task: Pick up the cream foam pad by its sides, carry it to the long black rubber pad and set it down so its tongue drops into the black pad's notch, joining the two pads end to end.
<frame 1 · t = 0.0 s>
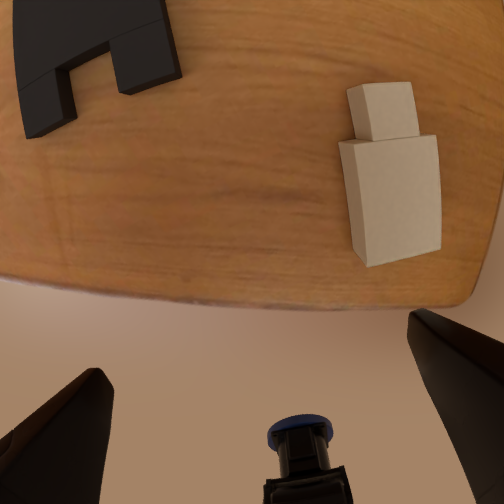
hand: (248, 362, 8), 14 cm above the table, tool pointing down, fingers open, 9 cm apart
foam pad: (384, 190, 20), on the table
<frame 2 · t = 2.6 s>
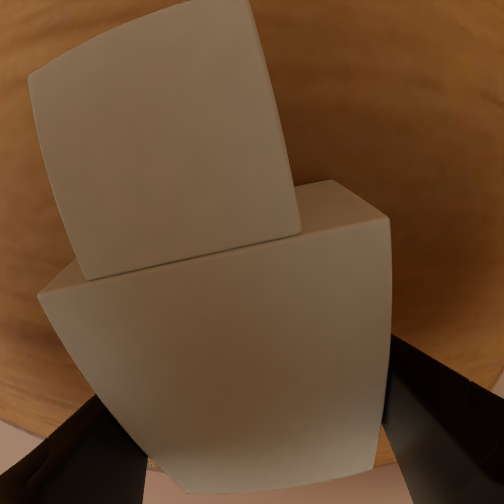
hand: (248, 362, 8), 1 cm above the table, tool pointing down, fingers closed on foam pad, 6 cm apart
foam pad: (247, 338, 9), on the table, touching gripper
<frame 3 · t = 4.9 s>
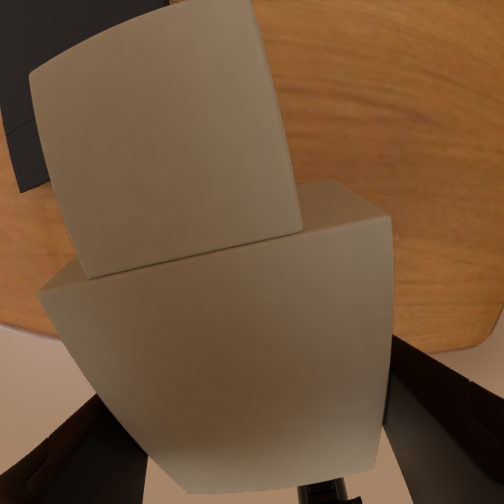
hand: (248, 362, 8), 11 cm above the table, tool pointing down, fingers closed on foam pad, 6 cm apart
foam pad: (248, 337, 9), point 10 cm above the table, touching gripper
when the fingers open (1 cm above the table, at t = 7.6 s): foam pad stays where it is, on the table.
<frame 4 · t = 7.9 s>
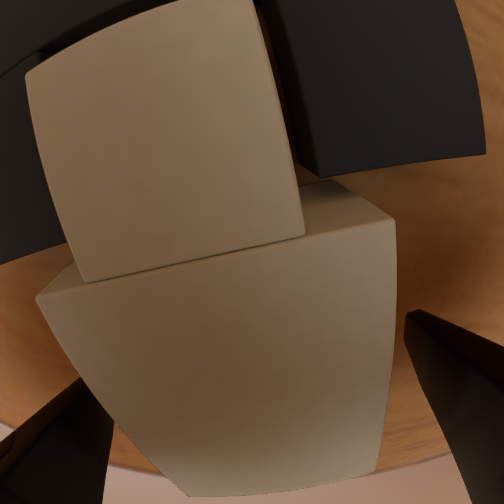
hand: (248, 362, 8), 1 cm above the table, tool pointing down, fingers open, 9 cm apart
foam pad: (248, 340, 9), on the table
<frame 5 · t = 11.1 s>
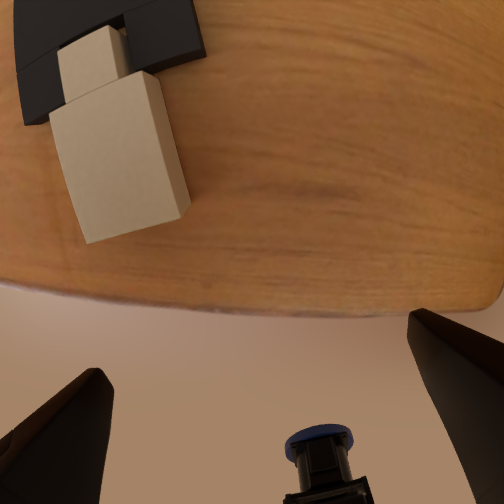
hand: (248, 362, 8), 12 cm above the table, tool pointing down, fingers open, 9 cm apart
foam pad: (129, 155, 17), on the table
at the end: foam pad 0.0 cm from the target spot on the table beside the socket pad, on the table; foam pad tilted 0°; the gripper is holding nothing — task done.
